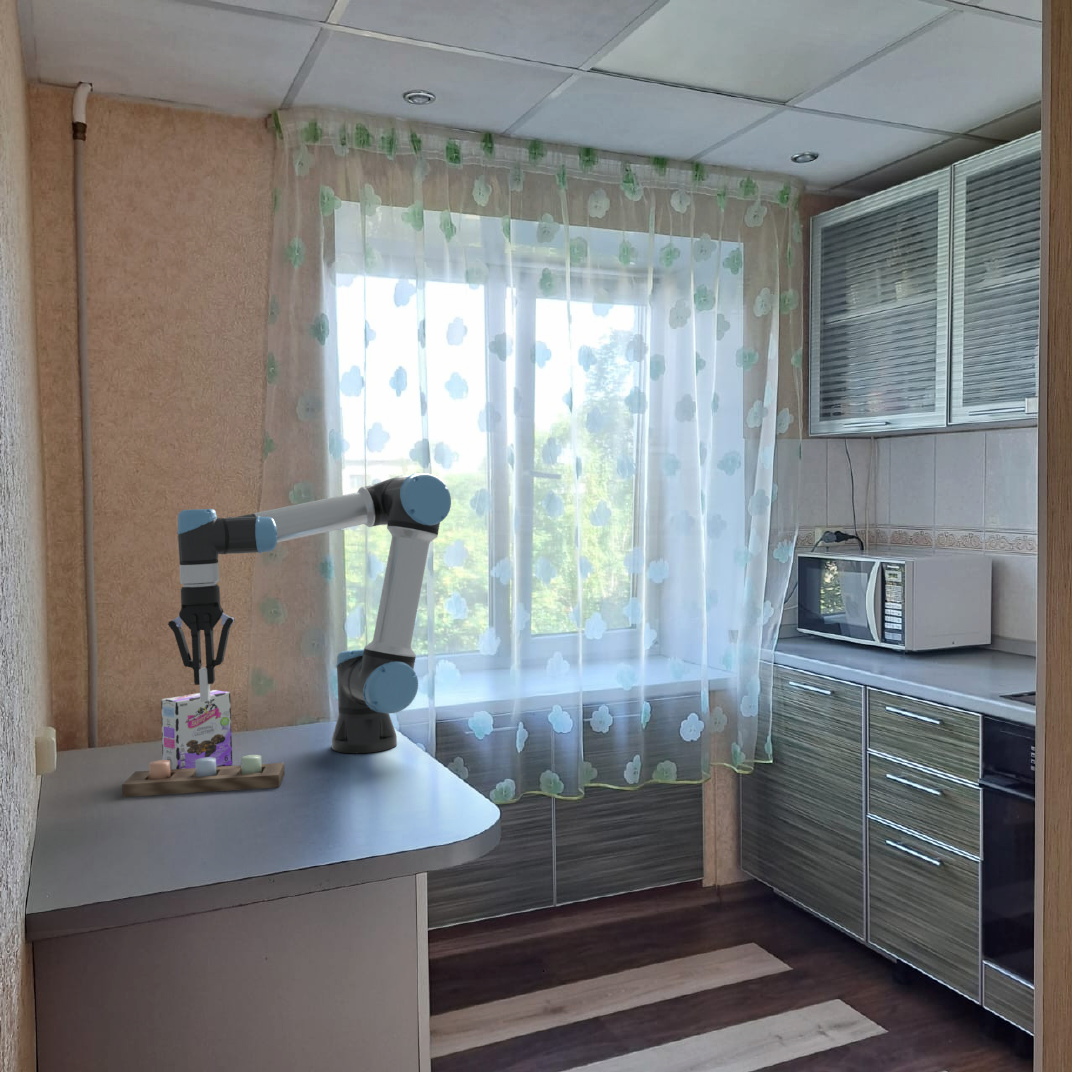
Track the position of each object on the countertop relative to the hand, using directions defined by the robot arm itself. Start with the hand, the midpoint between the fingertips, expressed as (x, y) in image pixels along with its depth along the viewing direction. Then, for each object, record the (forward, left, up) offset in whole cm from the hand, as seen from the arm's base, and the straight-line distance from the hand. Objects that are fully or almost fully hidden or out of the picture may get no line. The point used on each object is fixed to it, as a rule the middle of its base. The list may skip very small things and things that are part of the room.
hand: (205, 700), depth 199 cm
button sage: (-9, 0, -16) cm, 18 cm away
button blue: (0, 0, -16) cm, 16 cm away
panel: (0, 0, -17) cm, 17 cm away
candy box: (+5, -14, -18) cm, 23 cm away
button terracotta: (+9, 0, -16) cm, 19 cm away
